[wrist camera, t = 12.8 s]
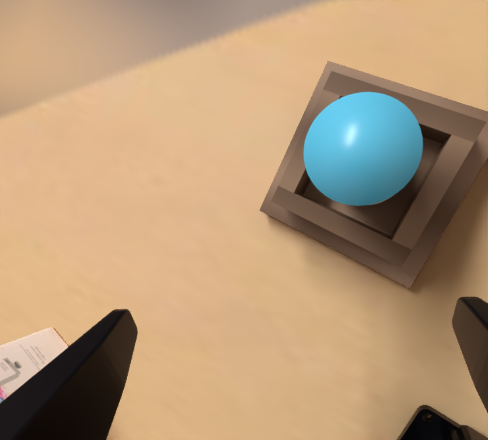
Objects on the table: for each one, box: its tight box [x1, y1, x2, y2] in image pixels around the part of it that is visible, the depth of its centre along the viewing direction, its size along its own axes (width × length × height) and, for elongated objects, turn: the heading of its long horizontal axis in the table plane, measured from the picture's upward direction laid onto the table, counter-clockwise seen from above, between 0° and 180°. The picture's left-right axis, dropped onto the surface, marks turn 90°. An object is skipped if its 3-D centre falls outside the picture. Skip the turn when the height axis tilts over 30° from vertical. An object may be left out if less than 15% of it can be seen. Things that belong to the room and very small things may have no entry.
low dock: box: [260, 61, 488, 288], centre depth 18 cm, size 10×10×4 cm
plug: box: [304, 92, 423, 206], centre depth 15 cm, size 4×4×8 cm
